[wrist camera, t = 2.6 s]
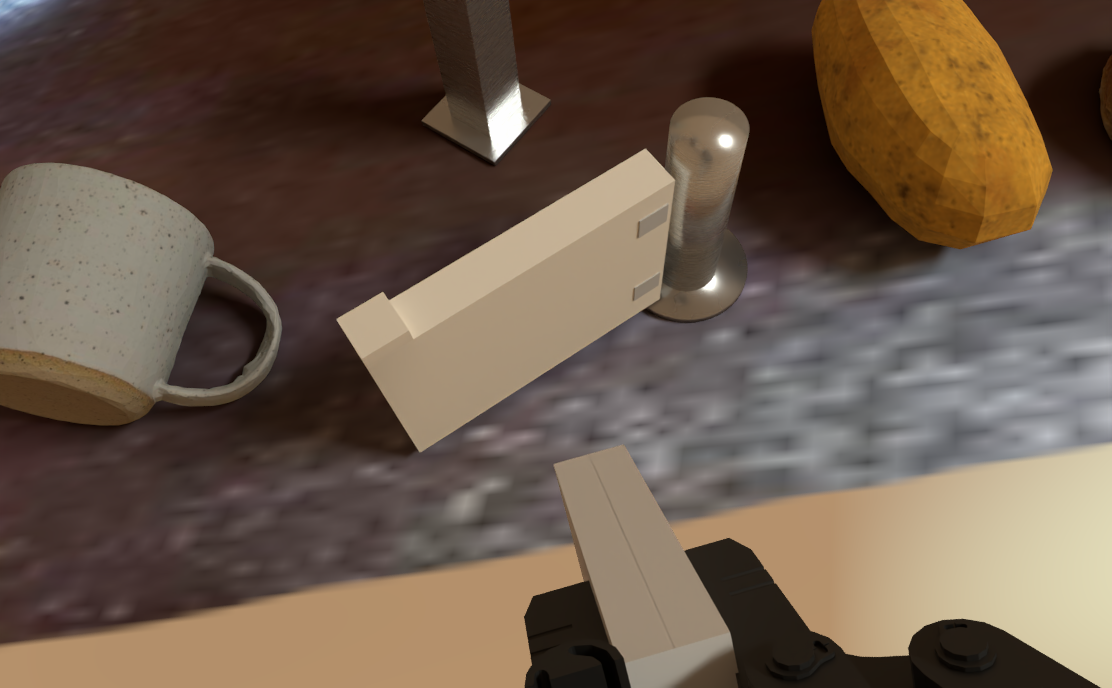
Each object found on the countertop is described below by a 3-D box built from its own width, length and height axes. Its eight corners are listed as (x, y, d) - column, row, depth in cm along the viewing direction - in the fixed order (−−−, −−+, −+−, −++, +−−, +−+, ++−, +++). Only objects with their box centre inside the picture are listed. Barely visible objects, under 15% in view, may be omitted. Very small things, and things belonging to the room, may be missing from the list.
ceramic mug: (12, 429, 34) (-136, 349, 27) (79, 257, 37) (-36, 147, 30) (265, 449, 33) (181, 371, 26) (309, 272, 37) (245, 162, 30)
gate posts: (411, 118, 40) (340, -115, 29) (489, 58, 41) (450, -186, 30) (691, 346, 34) (733, 159, 23) (771, 266, 35) (846, 55, 25)
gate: (635, 270, 35) (645, 135, 27) (660, 299, 34) (677, 169, 26) (398, 419, 32) (335, 318, 25) (420, 453, 32) (362, 360, 24)
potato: (859, 301, 34) (914, 205, 28) (772, 57, 40) (803, -65, 34) (1041, 272, 35) (1135, 171, 28) (928, 34, 41) (986, -92, 34)
